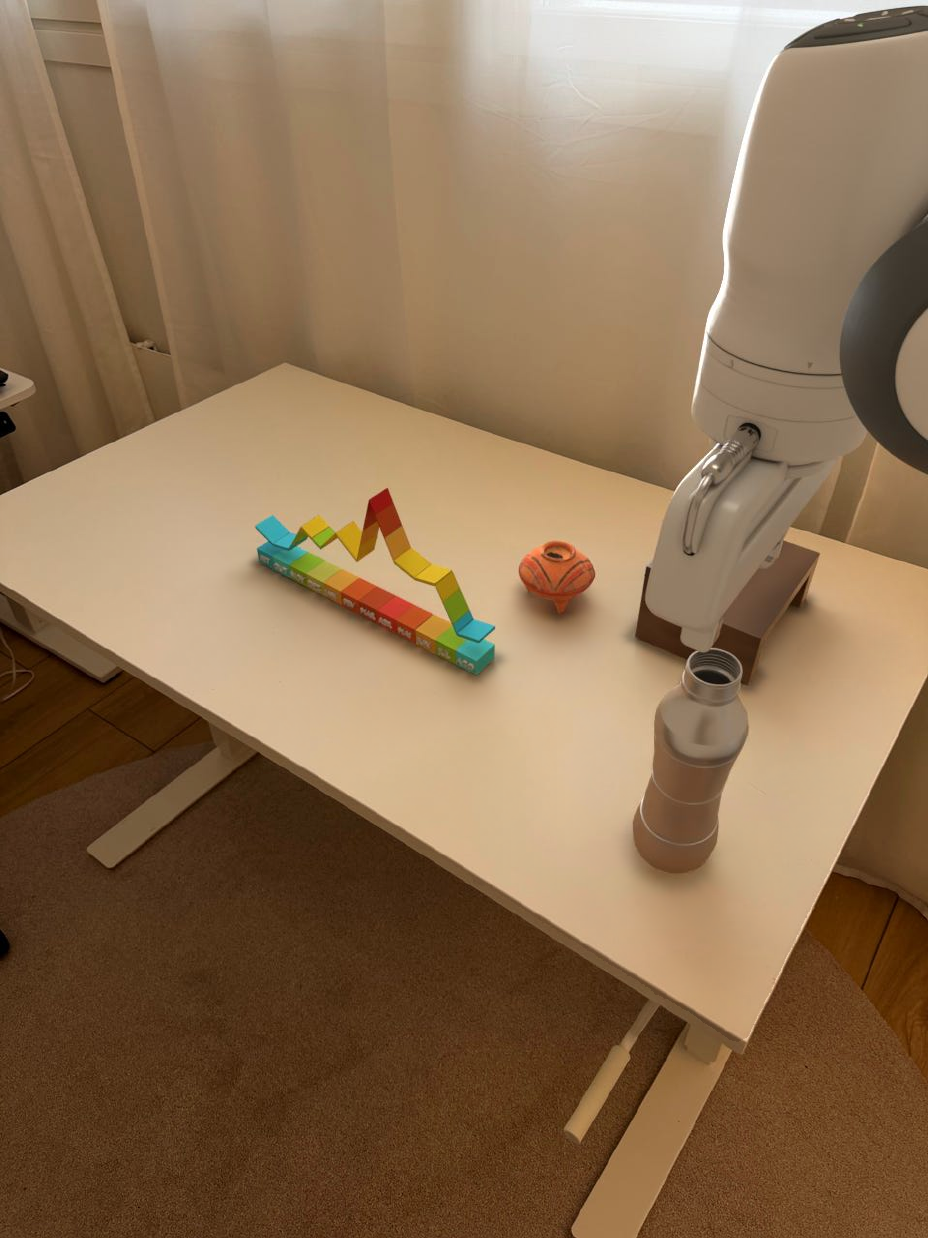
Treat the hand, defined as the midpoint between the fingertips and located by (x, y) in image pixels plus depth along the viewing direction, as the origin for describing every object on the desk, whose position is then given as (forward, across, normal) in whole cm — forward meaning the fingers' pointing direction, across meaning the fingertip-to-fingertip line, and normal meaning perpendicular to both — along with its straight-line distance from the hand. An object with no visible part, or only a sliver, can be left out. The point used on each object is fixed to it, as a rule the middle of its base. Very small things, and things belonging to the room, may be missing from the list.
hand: (730, 599), depth 54 cm
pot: (+26, +22, +24) cm, 41 cm away
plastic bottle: (+26, 0, 0) cm, 26 cm away
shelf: (+26, +29, +8) cm, 39 cm away
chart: (+26, +9, +39) cm, 48 cm away
